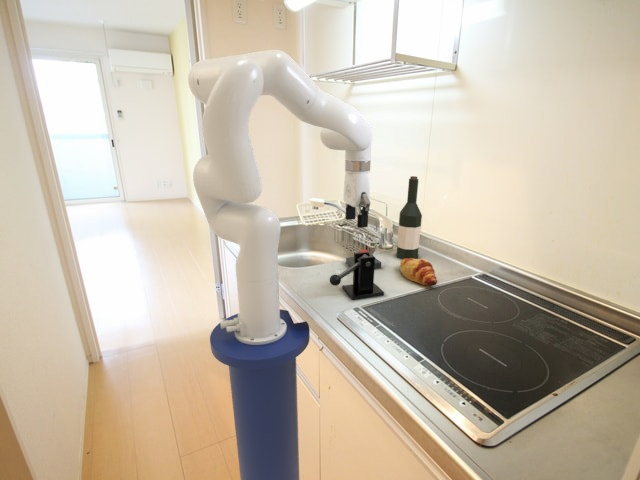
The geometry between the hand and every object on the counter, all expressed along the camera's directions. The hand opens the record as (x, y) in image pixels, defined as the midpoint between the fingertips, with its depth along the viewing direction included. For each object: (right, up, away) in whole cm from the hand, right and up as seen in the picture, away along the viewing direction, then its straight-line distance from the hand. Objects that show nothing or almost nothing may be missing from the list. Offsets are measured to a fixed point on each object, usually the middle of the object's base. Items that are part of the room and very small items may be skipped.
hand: (356, 223), depth 113 cm
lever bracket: (+2, -21, -6) cm, 22 cm away
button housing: (+3, -14, +15) cm, 20 cm away
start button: (+3, -10, +14) cm, 17 cm away
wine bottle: (+20, -10, +26) cm, 34 cm away
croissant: (+20, -17, +7) cm, 28 cm away
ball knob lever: (-1, -16, -9) cm, 18 cm away
